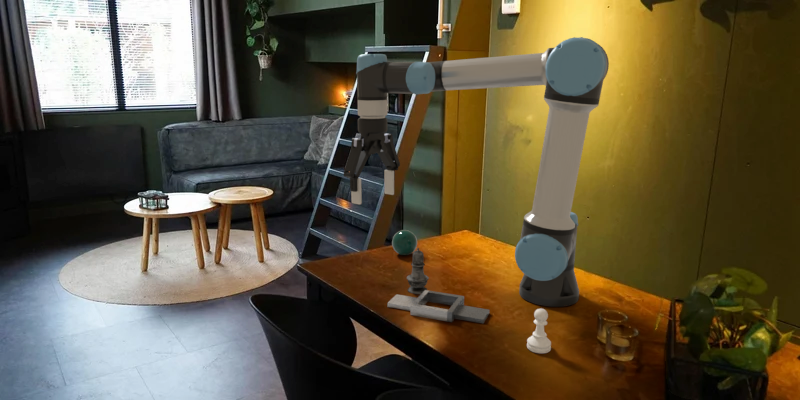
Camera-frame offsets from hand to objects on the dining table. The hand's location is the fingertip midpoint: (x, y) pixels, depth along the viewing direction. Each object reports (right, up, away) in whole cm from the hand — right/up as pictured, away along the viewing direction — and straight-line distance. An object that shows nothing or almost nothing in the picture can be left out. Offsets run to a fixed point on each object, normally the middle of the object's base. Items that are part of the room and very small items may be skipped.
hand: (373, 198), depth 149 cm
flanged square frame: (+16, -27, -9) cm, 33 cm away
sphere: (+8, -18, +32) cm, 38 cm away
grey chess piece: (+12, -25, +4) cm, 28 cm away
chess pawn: (+37, -32, -27) cm, 56 cm away
